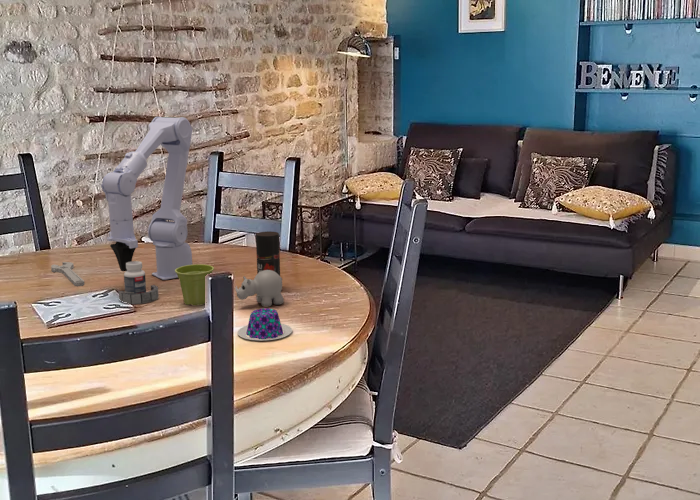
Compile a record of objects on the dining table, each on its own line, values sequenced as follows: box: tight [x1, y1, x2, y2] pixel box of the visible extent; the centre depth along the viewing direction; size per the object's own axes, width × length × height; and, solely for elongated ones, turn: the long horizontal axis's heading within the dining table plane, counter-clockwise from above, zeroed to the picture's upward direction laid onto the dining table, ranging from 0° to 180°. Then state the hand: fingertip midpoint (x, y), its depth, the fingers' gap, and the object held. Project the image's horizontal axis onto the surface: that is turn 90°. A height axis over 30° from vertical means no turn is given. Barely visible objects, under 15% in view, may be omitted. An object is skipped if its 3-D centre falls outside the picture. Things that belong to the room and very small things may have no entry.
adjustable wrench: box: [50, 261, 85, 287], centre depth 223 cm, size 25×6×2 cm, turn 27°
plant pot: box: [175, 263, 215, 306], centre depth 197 cm, size 9×9×9 cm
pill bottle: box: [123, 260, 147, 293], centre depth 202 cm, size 5×5×9 cm
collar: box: [118, 284, 160, 305], centre depth 200 cm, size 10×6×2 cm, turn 127°
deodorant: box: [255, 230, 281, 277], centre depth 206 cm, size 6×6×15 cm
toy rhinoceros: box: [234, 270, 285, 308], centre depth 194 cm, size 7×12×8 cm, turn 116°
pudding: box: [237, 307, 293, 342], centre depth 174 cm, size 12×12×5 cm
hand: (125, 270), depth 206 cm, fingers closed
